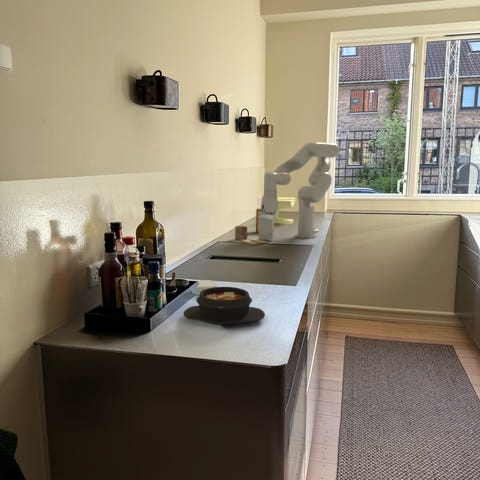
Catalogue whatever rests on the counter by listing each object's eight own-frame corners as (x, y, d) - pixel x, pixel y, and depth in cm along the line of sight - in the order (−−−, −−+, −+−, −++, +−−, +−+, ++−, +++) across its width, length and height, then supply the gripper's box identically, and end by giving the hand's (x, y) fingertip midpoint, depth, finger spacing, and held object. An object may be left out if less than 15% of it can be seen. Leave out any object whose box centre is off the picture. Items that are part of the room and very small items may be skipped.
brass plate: (255, 239, 280) (255, 238, 280) (268, 242, 271) (268, 241, 271) (239, 241, 273) (239, 240, 273) (252, 244, 264) (252, 243, 264)
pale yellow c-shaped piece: (274, 219, 370) (275, 197, 367) (294, 220, 366) (295, 197, 363) (268, 224, 341) (268, 200, 338) (289, 225, 338) (290, 201, 335)
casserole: (177, 328, 134) (177, 300, 133) (189, 308, 152) (189, 283, 151) (264, 332, 132) (264, 303, 131) (265, 310, 151) (266, 285, 149)
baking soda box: (272, 232, 307) (272, 208, 304) (270, 233, 301) (270, 209, 298) (258, 231, 310) (258, 207, 307) (256, 232, 303) (256, 208, 301)
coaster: (199, 297, 164) (199, 288, 163) (185, 291, 172) (185, 281, 171) (222, 293, 170) (222, 284, 169) (207, 287, 178) (208, 278, 177)
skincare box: (258, 239, 276) (258, 217, 269) (261, 234, 281) (260, 212, 274) (272, 241, 274) (272, 219, 266) (274, 236, 279) (274, 214, 271)
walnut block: (240, 238, 282) (241, 225, 280) (247, 239, 278) (247, 226, 277) (235, 239, 278) (235, 226, 276) (241, 240, 275) (241, 227, 273)
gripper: (275, 192, 282) (274, 222, 285) (256, 193, 273) (255, 224, 276) (283, 193, 276) (282, 224, 279) (264, 194, 267) (263, 225, 270)
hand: (268, 224), depth 277 cm, fingers closed
